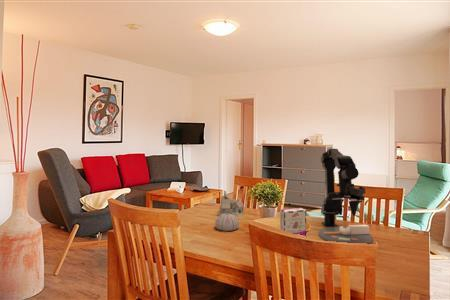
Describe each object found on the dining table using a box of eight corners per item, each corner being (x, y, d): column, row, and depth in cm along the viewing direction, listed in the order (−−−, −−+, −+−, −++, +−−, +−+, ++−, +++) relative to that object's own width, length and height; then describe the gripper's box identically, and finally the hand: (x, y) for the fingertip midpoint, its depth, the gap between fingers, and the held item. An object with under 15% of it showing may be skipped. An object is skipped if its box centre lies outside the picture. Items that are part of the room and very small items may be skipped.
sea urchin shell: (235, 233, 160) (235, 218, 159) (210, 230, 164) (210, 215, 163) (242, 226, 172) (242, 211, 172) (219, 223, 176) (219, 209, 176)
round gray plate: (311, 229, 166) (311, 226, 166) (355, 228, 168) (355, 225, 168) (331, 246, 141) (331, 243, 141) (383, 245, 143) (383, 241, 143)
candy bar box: (300, 241, 148) (301, 207, 147) (306, 245, 143) (306, 210, 142) (279, 243, 145) (279, 209, 144) (284, 247, 140) (284, 211, 139)
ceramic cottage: (214, 216, 190) (216, 192, 190) (222, 211, 206) (224, 189, 206) (239, 220, 186) (241, 195, 186) (245, 214, 202) (247, 191, 201)
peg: (326, 235, 151) (326, 228, 151) (322, 232, 156) (322, 225, 156) (370, 234, 153) (370, 226, 153) (365, 231, 158) (365, 224, 158)
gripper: (346, 178, 137) (348, 214, 133) (372, 181, 146) (375, 215, 142) (326, 181, 146) (328, 214, 143) (352, 184, 155) (355, 216, 152)
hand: (347, 215), depth 145 cm, fingers open, 9 cm apart
